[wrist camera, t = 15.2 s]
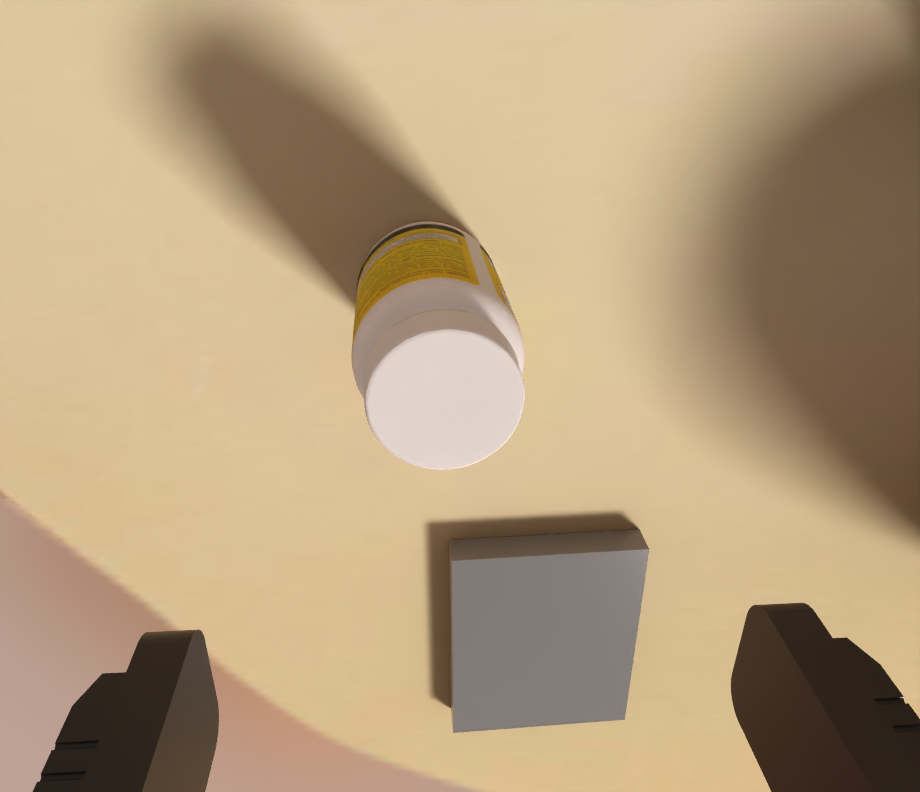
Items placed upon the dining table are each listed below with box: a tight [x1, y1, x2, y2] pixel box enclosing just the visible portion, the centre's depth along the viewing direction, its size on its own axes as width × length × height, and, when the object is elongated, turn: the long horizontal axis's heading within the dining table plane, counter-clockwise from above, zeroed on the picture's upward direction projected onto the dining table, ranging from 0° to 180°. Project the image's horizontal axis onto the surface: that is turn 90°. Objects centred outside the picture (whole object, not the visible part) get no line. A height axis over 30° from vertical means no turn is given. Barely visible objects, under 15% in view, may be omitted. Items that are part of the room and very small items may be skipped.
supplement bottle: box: [352, 221, 525, 470], centre depth 22 cm, size 5×5×8 cm
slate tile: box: [449, 529, 649, 733], centre depth 33 cm, size 2×8×10 cm
